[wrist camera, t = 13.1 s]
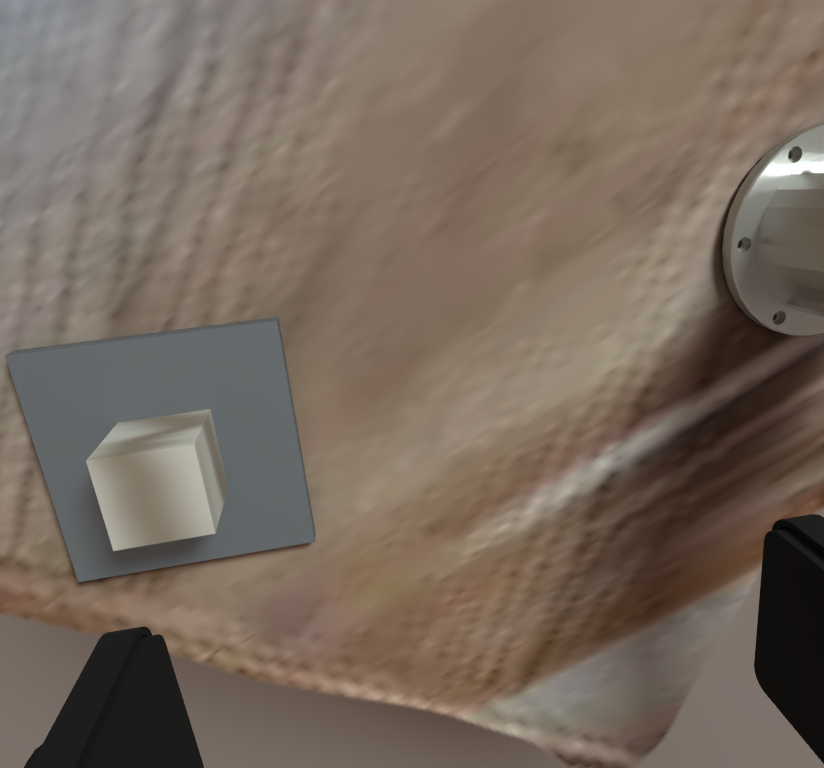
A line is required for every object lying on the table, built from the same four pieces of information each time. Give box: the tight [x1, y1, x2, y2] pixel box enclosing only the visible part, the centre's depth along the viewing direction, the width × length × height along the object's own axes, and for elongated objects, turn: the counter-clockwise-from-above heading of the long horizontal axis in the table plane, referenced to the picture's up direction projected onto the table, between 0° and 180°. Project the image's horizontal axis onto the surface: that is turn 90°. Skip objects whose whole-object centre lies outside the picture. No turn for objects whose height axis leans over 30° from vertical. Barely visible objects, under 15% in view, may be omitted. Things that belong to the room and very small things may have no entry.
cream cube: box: [86, 409, 228, 551], centre depth 32 cm, size 5×5×5 cm
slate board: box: [5, 317, 315, 582], centre depth 35 cm, size 14×14×1 cm
